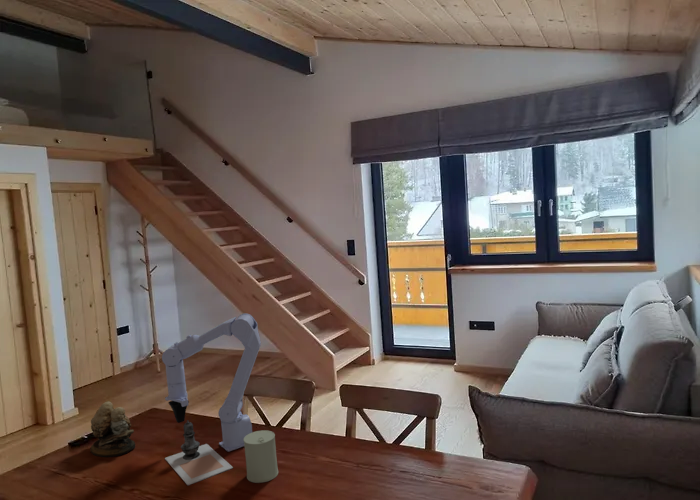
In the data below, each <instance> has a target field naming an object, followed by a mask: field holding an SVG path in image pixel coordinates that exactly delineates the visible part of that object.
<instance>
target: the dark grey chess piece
mask: <svg viewBox="0 0 700 500" xmlns="http://www.w3.org/2000/svg"><path fill="white" fill-rule="evenodd" d="M183 432H184V433H183V437H184V443H182V444H181V445H180V449H181V450H182V451H181V452H183V453H185V455H184V456H183V459H185V460H191V459H195V458H197V457H198V456H199V455H200V453H199V452H197V450H198V448H199V446H201V445H200V444H201V443H200V442H199V441H198V440H196V438H195V434H196V433H195V431H194V424H193V422H191V421H189V420H188V419H187V420H186V422H185V423H184V425H183Z"/></svg>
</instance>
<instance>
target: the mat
mask: <svg viewBox="0 0 700 500" xmlns="http://www.w3.org/2000/svg"><path fill="white" fill-rule="evenodd" d="M197 452H199V453H200V455H199V456H198V457H197V458H195V459H191V460H185V459H183V456H184V455H185V453H183V451H181V452H178V453H174V454H173V455H169V456H167V457H165V458H164V460H165V461H166V462H167V463H168V464H169V465H170V466H171V468H172V469H173V470H174V471H175V472H176V473H177V475H178V476H179V478H180V479H182V480H183V482H184V483H185V484H186V485H187V486H191V485H192V484H195V483H198V482H201V481H203V480H205V479H208V478H212V477H213V476H214V477H215V476H217V475H219V474H222V473H225V472H227V471H230V470H232V469H233V468H234V467H233V466H232V465H231V464H230V463H229V462H228V461H227V460H226V459H224V458H223V457H222V456H221V455H220V454H219V453H217V451H215V449H213V448H212V447H211V446H210V445H209V444H208V443H205V444H201V445H199V448H198V450H197Z"/></svg>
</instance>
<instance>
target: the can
mask: <svg viewBox="0 0 700 500" xmlns="http://www.w3.org/2000/svg"><path fill="white" fill-rule="evenodd" d="M243 447H244V455H245V456H244V457H245V466H246V479H247V480H248V481H249V482H251V483H255V484H260V483H267V482H269V481H272V480H273V479H276V477H277V476H278V475H279V469H278V461H277V460H278V459H277V447H276V433H275V432H274V431H271V430H267V429H266V430H265V429H264V430H256V431H252V433H250V434H248V435H246V436H245V437H244V446H243Z"/></svg>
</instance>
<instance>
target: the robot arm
mask: <svg viewBox="0 0 700 500" xmlns="http://www.w3.org/2000/svg"><path fill="white" fill-rule="evenodd" d="M258 327H259V326H258V322H257V320H255V318H254V317H253V316H252V314H249V313H242V314H241V313H240V314H239V316H238V317H237V316H235V317H232V318H230V319H227V320H225V321H224V322H221V323H220V324H218V325H217V326H215V327H213V328H211V329H209V330H207V331H206V332H205V333H204V332H203V334H199V335H198V334H188V335H187V336H186V337H185V339H182V340H181V341H176V342H175V343H173V345H171V346H170V347H168V348H166V349H165V351H164V352H163V353H162V355H161V361H162V363H163V364H164V365H165V373H166V374H165V375H166V384H167V392H168V394H167V395H168V396H166V397H165V398H164V399H165V401H168V405H169V406H170V407H171V409H172V412H173V415H174V417H175V418H174V419H175V421H176V422H177V423H178V424H180V423H183V422H185V419H186V411H187V407H188V406H189V403H190V401H189V399H188V392H187V384H186V374H185V366H184V360H185V359H188V358H190V357H192V356H193V355H195V354H197V353H199V352H201V351H203V349H204V346H205V345H206V344H208V343H210V342H212V341H214V340H216V339H219V338H221V336H228V337H231V336H234V337H235V338H236V339H237V340H238V341H240V342H241V344H242V345H243V347H244V350H243V352H242V356H241V358H240V360H239V361H240V362H239V364H238V367H237V369H236V372H235V375H234V377H233V380H232V383H231V386H230V389H229V392H228V394H227V395H226V398H225V400H224V402H223V404H222V405H221V407H219V410H218V417H219V420H220V424H221V426H220V427H221V434H222V436H221V437H222V441H221V442H220V441H219V442H218V445H219V446H220V447H221V448H223V449H224V450H225V451H226V452H232V451H235V450H237V449H240V448H243V447H244V437H245V436H246V435H248V434H250V433H252V432H253V424H252V422H251V418H250V416H249V415H248V414H243V413H242V411H241V410H242V408H243V405H244V403H243V398H244V393H245V390H246V387H247V385H248V381H249V379H250V376H251V374H252V371H253V368H254V365H255V362H256V360H257V357H258V353H259V351H260V349H261V344H262V342H261V337H260V334H259V330H258V329H259V328H258Z"/></svg>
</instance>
